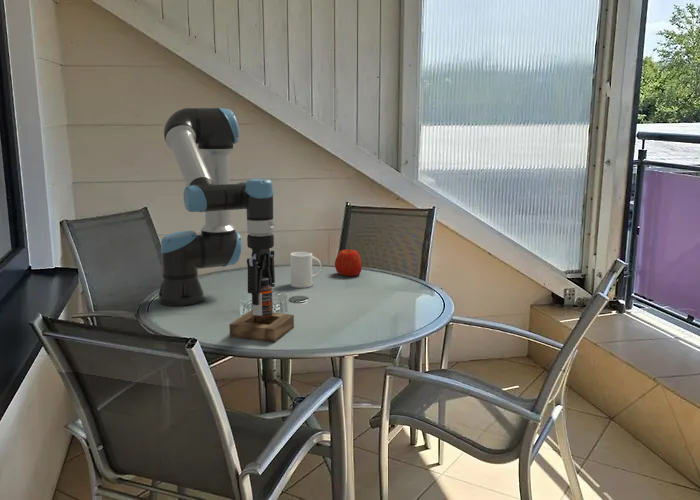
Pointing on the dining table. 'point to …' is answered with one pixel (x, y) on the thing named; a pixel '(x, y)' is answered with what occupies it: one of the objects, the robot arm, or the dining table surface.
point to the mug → (302, 269)
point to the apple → (348, 263)
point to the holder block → (262, 327)
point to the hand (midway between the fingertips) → (262, 311)
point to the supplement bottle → (265, 299)
